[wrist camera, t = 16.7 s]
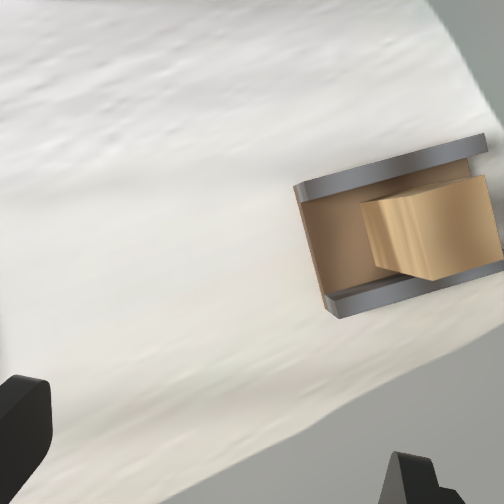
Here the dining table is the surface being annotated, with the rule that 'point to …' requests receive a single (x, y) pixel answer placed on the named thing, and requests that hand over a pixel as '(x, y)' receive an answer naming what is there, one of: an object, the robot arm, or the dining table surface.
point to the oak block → (433, 229)
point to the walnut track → (355, 234)
